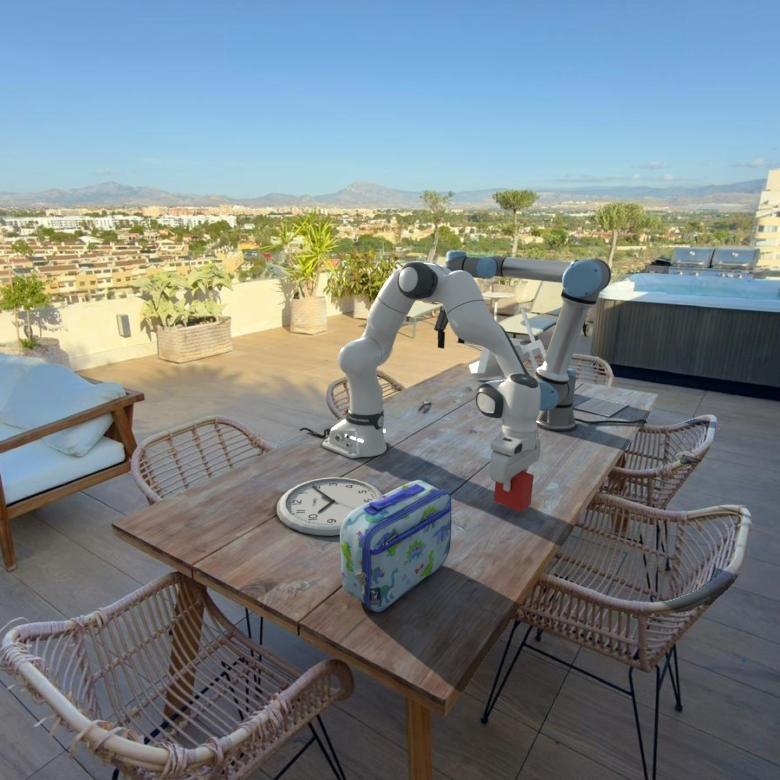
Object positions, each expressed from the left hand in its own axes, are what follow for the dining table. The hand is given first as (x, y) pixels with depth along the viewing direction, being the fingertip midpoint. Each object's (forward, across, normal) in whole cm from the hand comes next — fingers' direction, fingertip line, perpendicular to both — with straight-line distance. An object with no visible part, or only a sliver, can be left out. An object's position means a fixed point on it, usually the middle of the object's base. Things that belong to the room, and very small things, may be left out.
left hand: (513, 485), depth 138 cm
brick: (+5, 0, 0) cm, 5 cm away
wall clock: (+8, +31, -37) cm, 49 cm away
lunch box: (+8, +43, -3) cm, 44 cm away
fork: (+8, -51, -72) cm, 89 cm away
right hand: (-20, -53, -61) cm, 83 cm away
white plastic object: (+8, -104, -62) cm, 121 cm away
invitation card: (+8, -106, -17) cm, 107 cm away
